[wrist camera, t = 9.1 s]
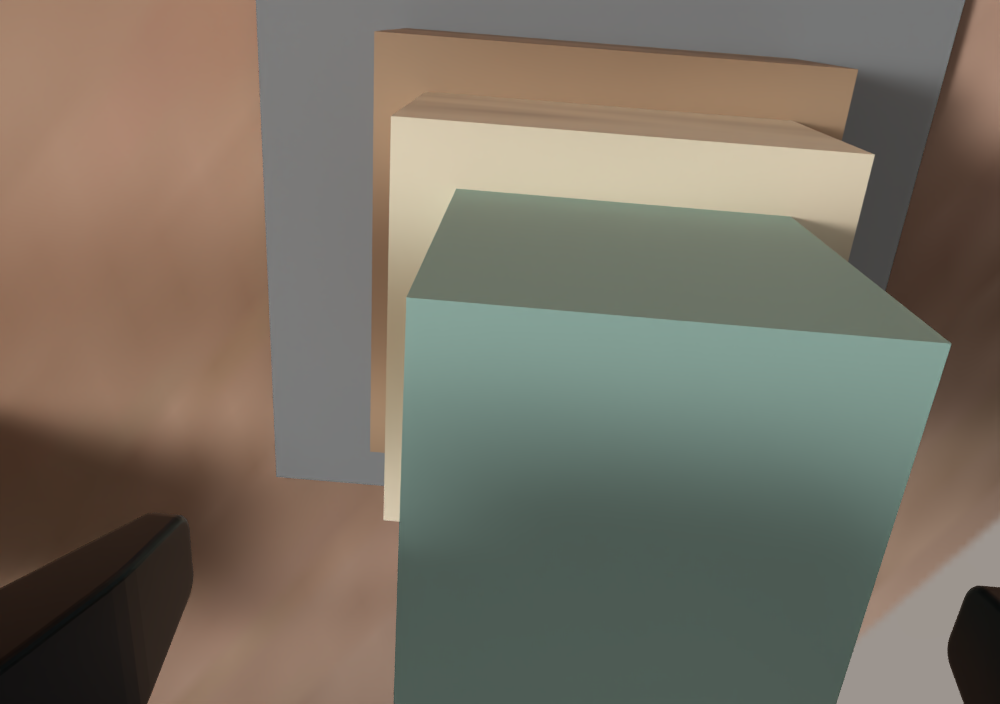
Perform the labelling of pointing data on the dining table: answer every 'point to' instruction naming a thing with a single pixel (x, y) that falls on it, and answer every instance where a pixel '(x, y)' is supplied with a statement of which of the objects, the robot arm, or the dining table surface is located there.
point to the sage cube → (645, 455)
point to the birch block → (596, 182)
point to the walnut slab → (581, 80)
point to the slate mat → (533, 14)
